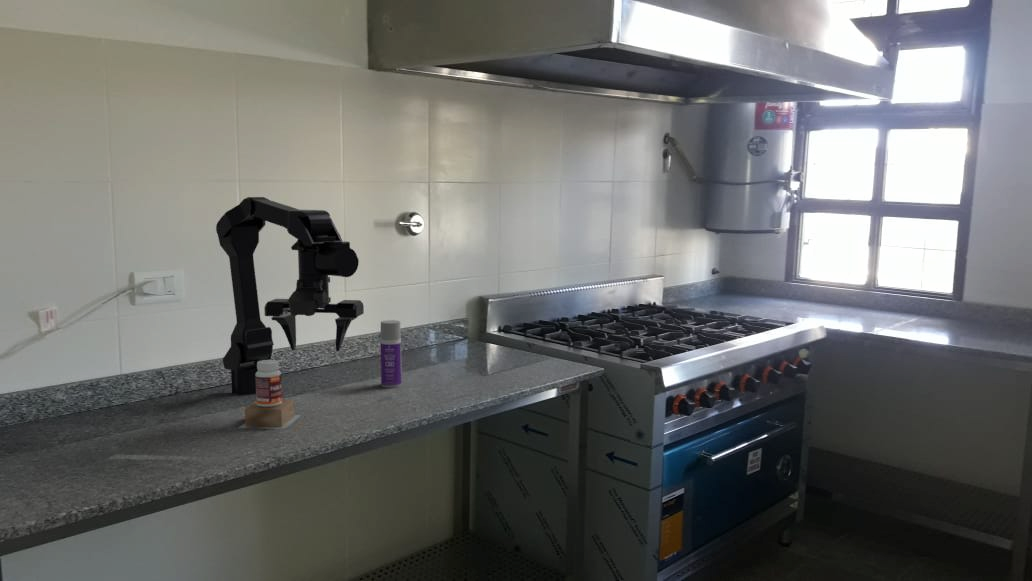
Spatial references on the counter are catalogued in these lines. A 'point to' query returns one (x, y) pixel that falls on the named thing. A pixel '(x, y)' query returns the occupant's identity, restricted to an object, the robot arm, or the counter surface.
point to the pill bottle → (268, 383)
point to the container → (390, 354)
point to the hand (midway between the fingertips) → (315, 350)
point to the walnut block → (269, 414)
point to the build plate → (273, 427)
